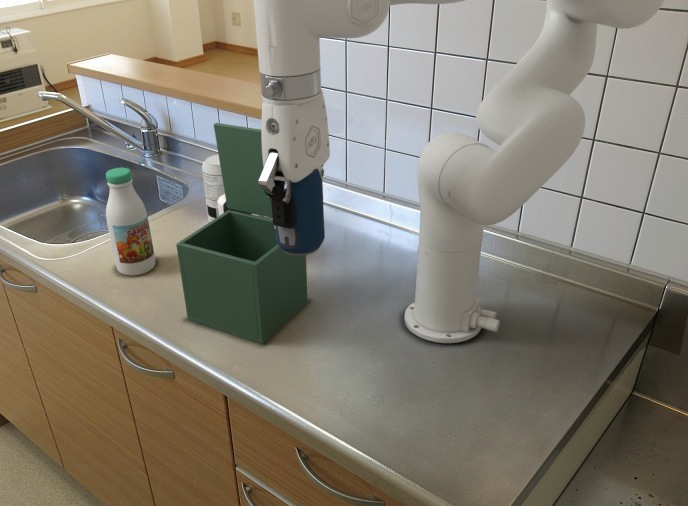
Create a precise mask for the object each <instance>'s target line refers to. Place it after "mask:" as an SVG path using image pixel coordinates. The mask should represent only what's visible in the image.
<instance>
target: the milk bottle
mask: <svg viewBox="0 0 688 506" xmlns="http://www.w3.org/2000/svg"><path fill="white" fill-rule="evenodd" d="M105 179H106V182H107V186H108V187H109V193H108V199H107V202H106V208H105V219H106V225H107V230H108V235H109V240H110V245H111V249H112V254H113V259H114V264H115V268H116V270H117V272H119V273H120V274H121V275H124V276H139V275H142V274H145V273H147V272H148V273H149V272H150V271H151V270H153V268H154V267H155V266H156V256H155V250H154V246H153V239H152V233H151V228H150V222H149V218H148V213H147V210H146V206H145V204H144V202H143V201H142V199H141V197H140V196H139V194H138V193H137V191H136V190H135V188H134V186H133V181H134V180H133V173H132V170H131V169H130V168H128V167H115V168H112V169H109V170H107V171H106V172H105Z"/></svg>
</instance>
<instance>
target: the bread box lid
mask: <svg viewBox="0 0 688 506" xmlns="http://www.w3.org/2000/svg"><path fill="white" fill-rule="evenodd" d="M213 131H214V136H215V143H216V148H217V153H218V155H219V161H220V167H221V173H222V179H223V185H224V191H225V197H226V203H227V208H229V209H234V210H238V211H243V212H247V213H252V214H256V215H259V216H260V217H264V218H269V219H273V218H272V206H271V200H270V199H268V196H267V195H266V194H265V192H264V190H263V189H262V188H261V187H260V186H259V183H258V182H259V179H260V176H261V174H262V171H263V169H264V166H263V157H262V137H261V129H260V128H253V127H247V126H241V125H234V124H227V123H220V122H215V123H214V124H213Z"/></svg>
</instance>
